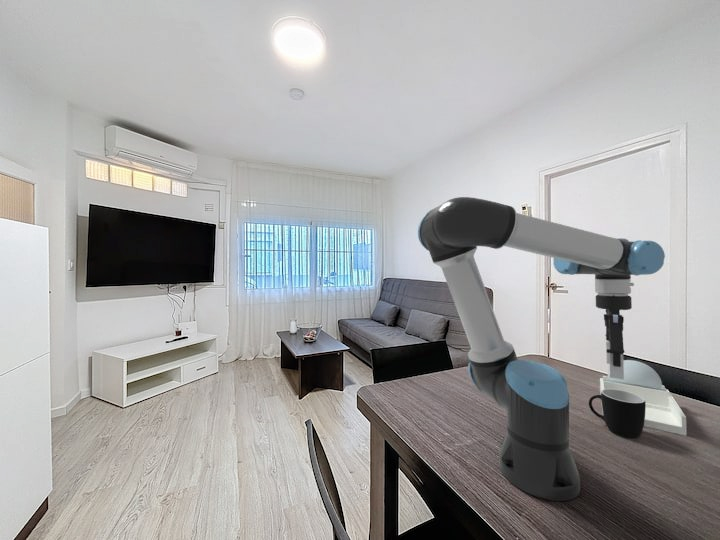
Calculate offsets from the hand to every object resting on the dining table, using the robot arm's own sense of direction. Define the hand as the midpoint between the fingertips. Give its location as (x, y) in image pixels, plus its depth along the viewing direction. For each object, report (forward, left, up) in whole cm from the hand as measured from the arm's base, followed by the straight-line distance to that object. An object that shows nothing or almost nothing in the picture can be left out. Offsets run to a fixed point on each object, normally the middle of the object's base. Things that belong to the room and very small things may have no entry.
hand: (614, 370), depth 80 cm
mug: (0, 0, -17) cm, 17 cm away
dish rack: (+18, -6, -16) cm, 25 cm away
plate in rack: (+24, -6, -16) cm, 30 cm away
